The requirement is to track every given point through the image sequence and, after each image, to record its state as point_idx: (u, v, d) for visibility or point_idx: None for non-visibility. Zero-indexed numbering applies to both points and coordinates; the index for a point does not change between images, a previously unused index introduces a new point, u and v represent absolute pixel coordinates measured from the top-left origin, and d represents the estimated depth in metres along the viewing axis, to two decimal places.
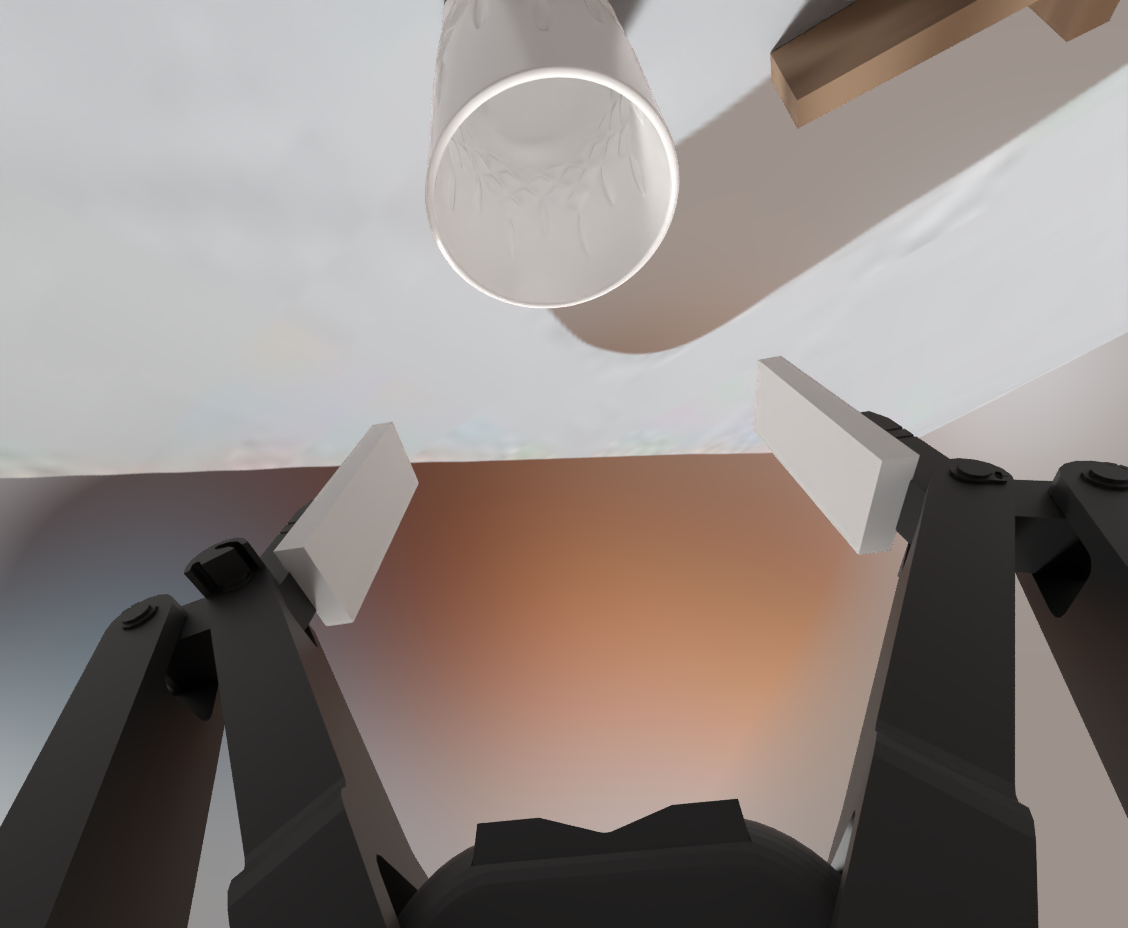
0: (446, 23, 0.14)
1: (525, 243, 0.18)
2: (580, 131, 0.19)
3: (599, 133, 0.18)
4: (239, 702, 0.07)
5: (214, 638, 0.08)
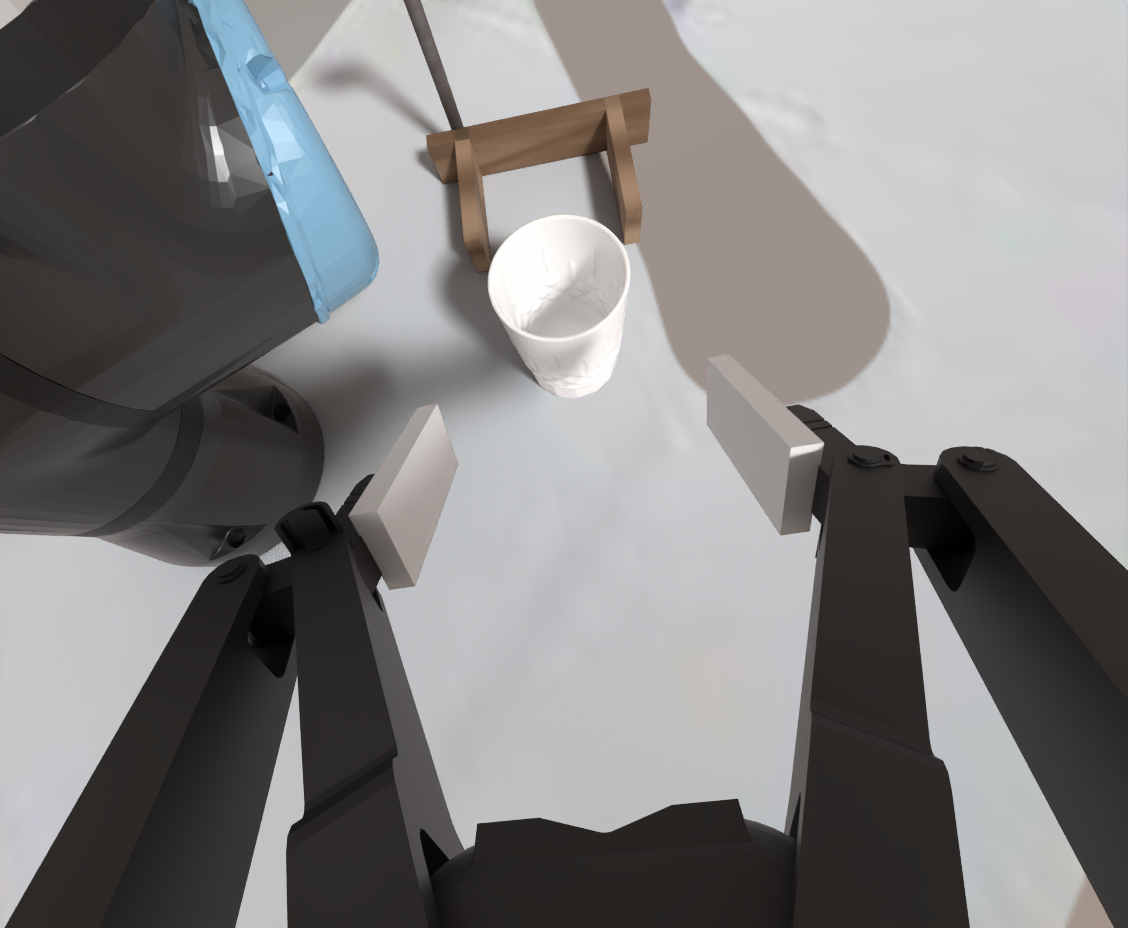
0: (526, 364, 0.30)
1: None
2: None
3: (603, 311, 0.31)
4: (311, 656, 0.08)
5: (294, 593, 0.09)
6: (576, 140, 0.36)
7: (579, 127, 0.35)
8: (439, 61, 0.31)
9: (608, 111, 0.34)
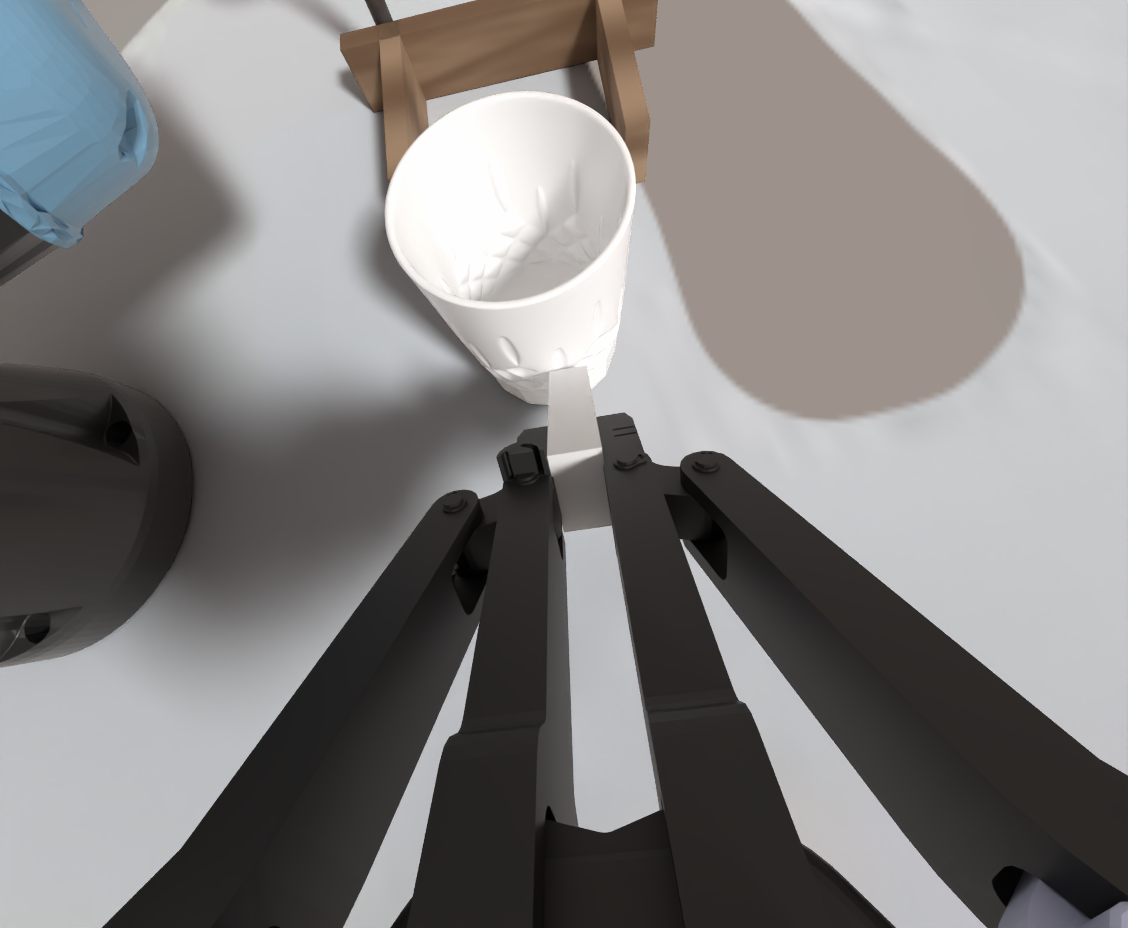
0: None
1: None
2: None
3: None
4: (497, 584, 0.08)
5: (498, 519, 0.10)
6: (554, 41, 0.26)
7: (557, 18, 0.25)
8: None
9: None
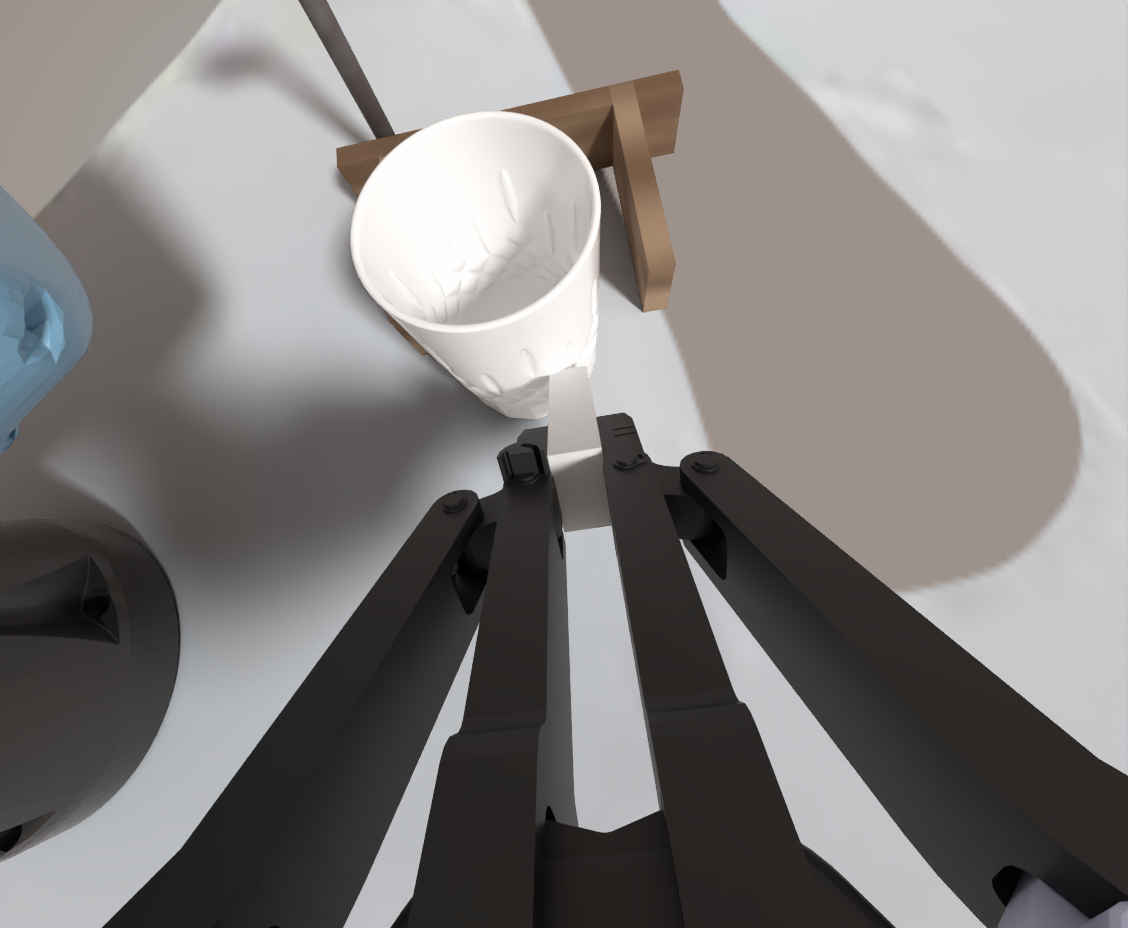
0: (477, 393, 0.19)
1: None
2: None
3: (547, 275, 0.21)
4: (498, 584, 0.08)
5: (498, 519, 0.10)
6: None
7: (571, 132, 0.23)
8: (336, 27, 0.18)
9: (616, 107, 0.22)
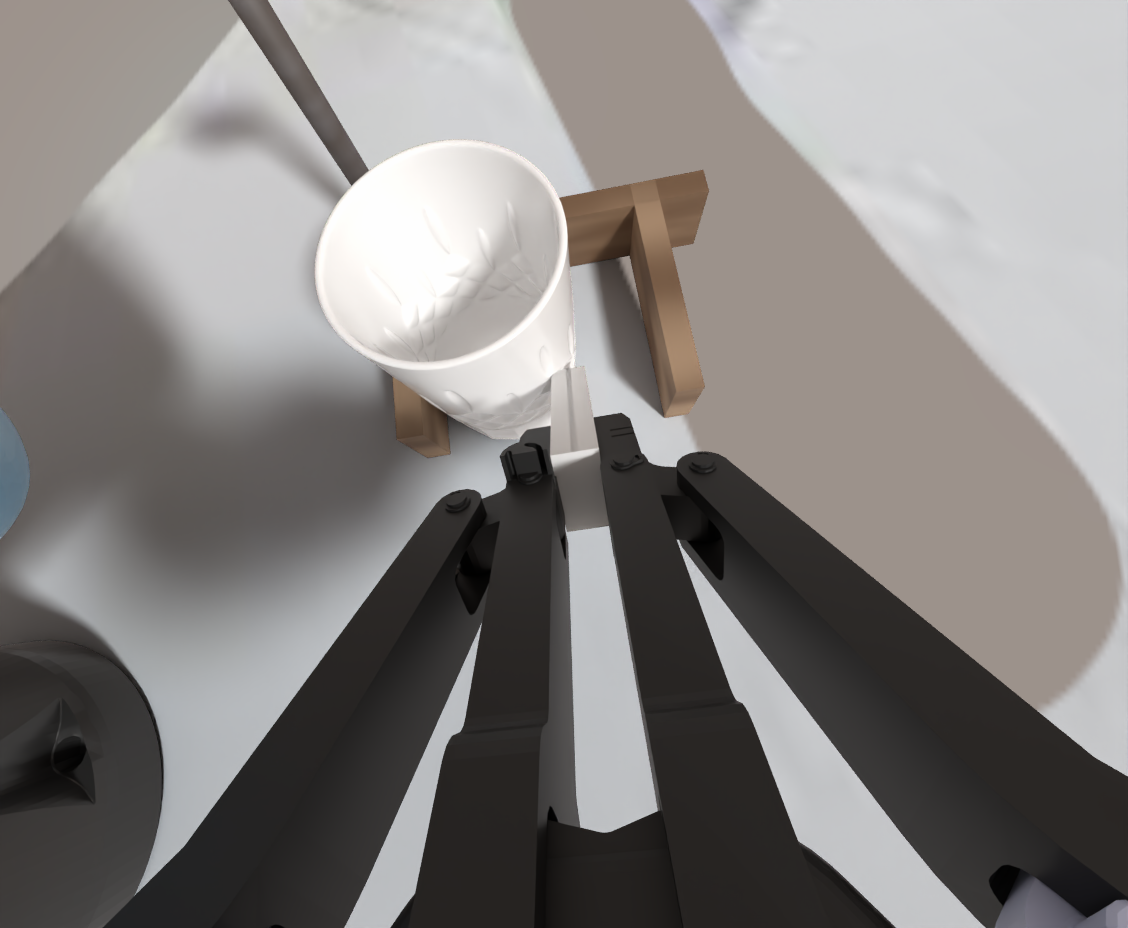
0: (492, 426, 0.19)
1: None
2: (510, 308, 0.21)
3: (493, 293, 0.21)
4: (500, 584, 0.08)
5: (501, 518, 0.10)
6: (583, 245, 0.23)
7: (589, 229, 0.22)
8: (341, 134, 0.17)
9: (638, 208, 0.20)
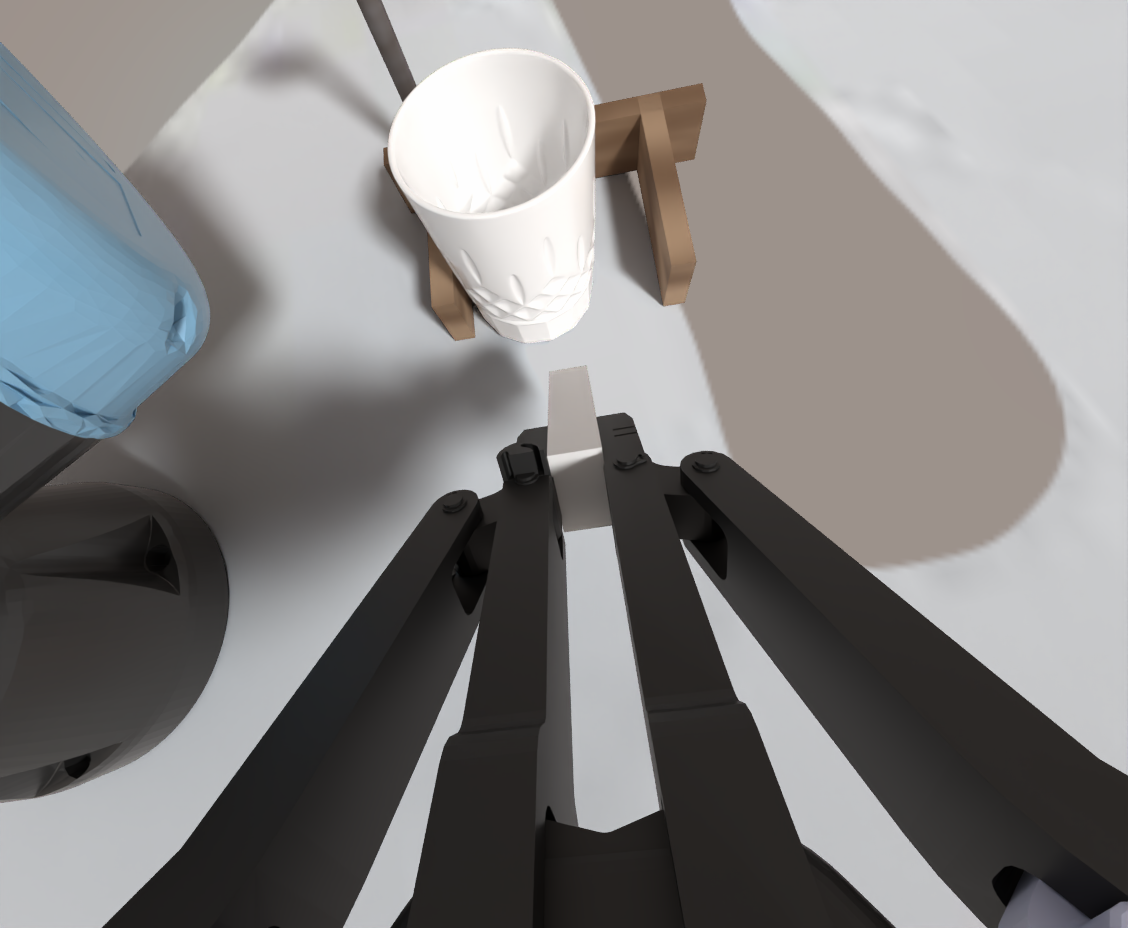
0: (499, 314, 0.22)
1: None
2: None
3: None
4: (497, 584, 0.08)
5: (498, 519, 0.10)
6: (596, 156, 0.26)
7: (601, 138, 0.25)
8: (394, 39, 0.20)
9: (644, 116, 0.23)
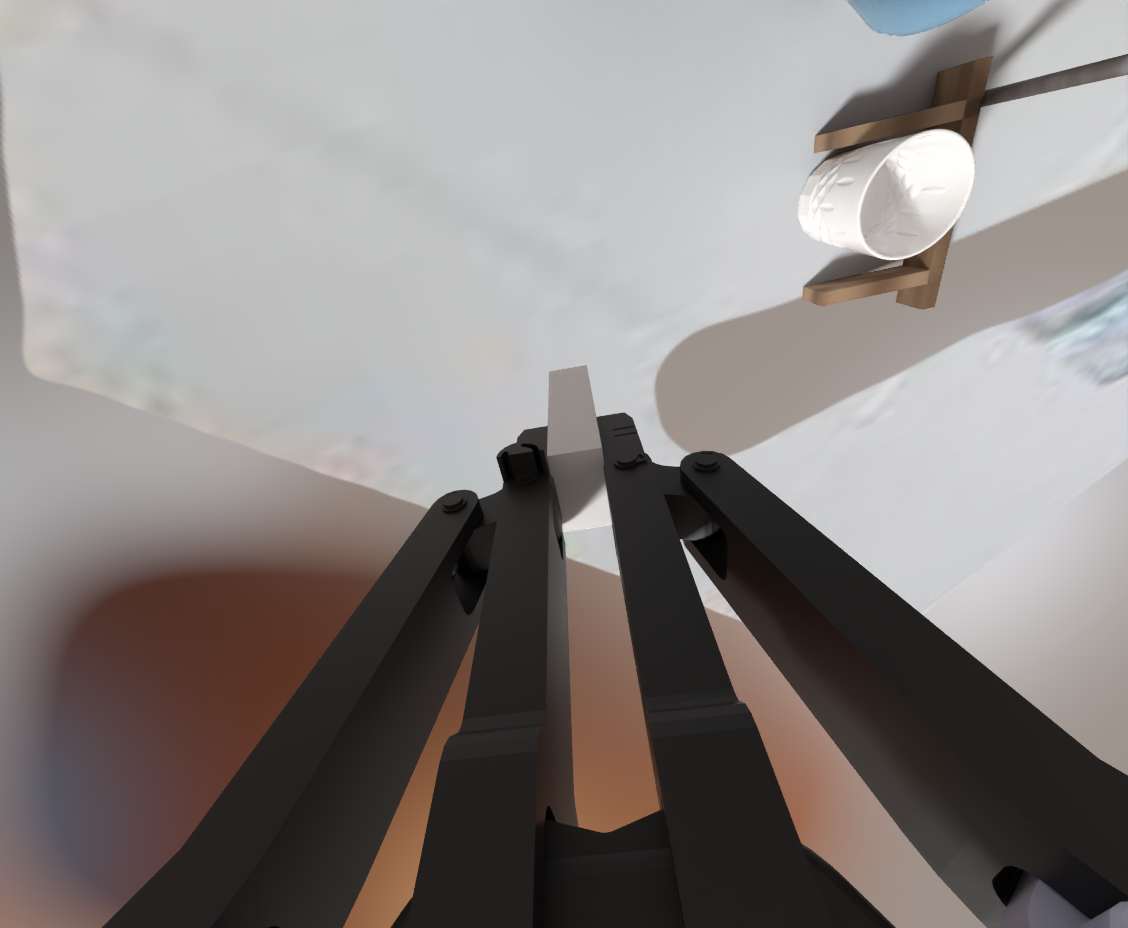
0: (819, 185, 0.36)
1: (874, 248, 0.35)
2: (873, 212, 0.38)
3: (887, 205, 0.37)
4: (497, 584, 0.08)
5: (498, 519, 0.10)
6: None
7: None
8: (1045, 91, 0.29)
9: (926, 272, 0.39)
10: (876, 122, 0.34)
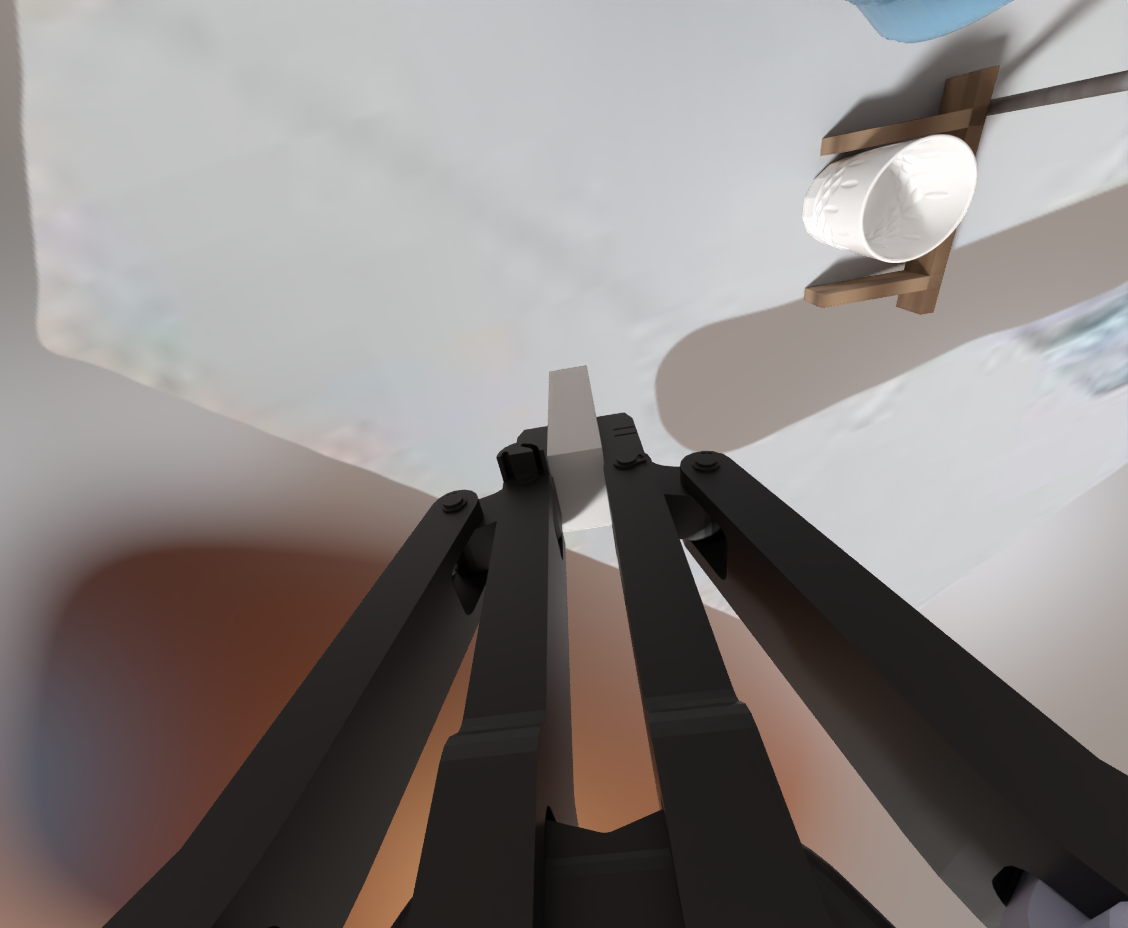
0: (824, 187, 0.36)
1: (876, 251, 0.36)
2: (877, 216, 0.38)
3: (891, 209, 0.38)
4: (497, 585, 0.08)
5: (498, 519, 0.10)
6: None
7: None
8: (1048, 103, 0.30)
9: (926, 278, 0.40)
10: (882, 127, 0.34)
